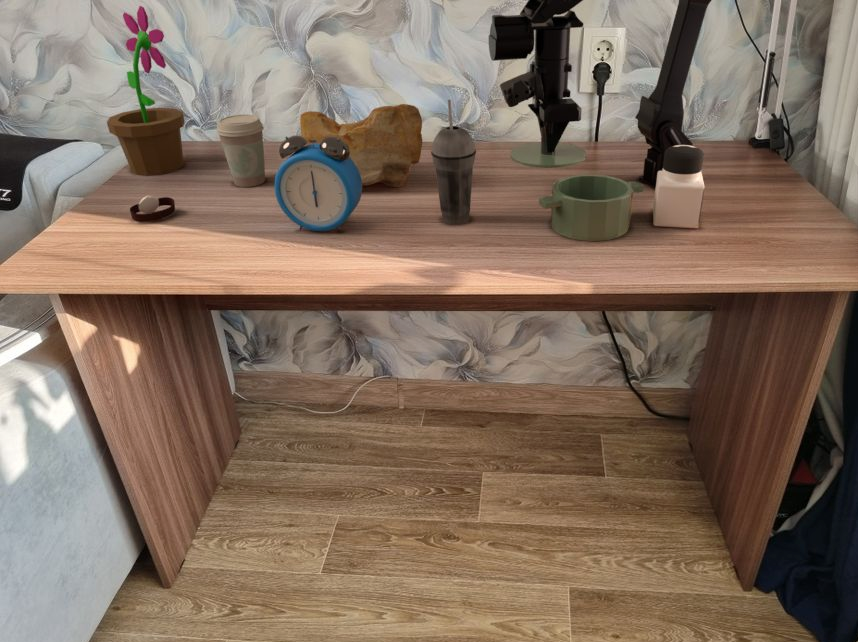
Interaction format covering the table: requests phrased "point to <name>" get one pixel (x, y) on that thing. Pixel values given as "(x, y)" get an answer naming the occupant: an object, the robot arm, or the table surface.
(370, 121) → the rough brown rock
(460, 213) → the beverage cup
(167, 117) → the flowerpot
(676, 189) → the medicine bottle
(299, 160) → the alarm clock
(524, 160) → the lid
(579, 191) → the cooking pot
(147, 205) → the watch
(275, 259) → the table surface
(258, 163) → the coffee cup
